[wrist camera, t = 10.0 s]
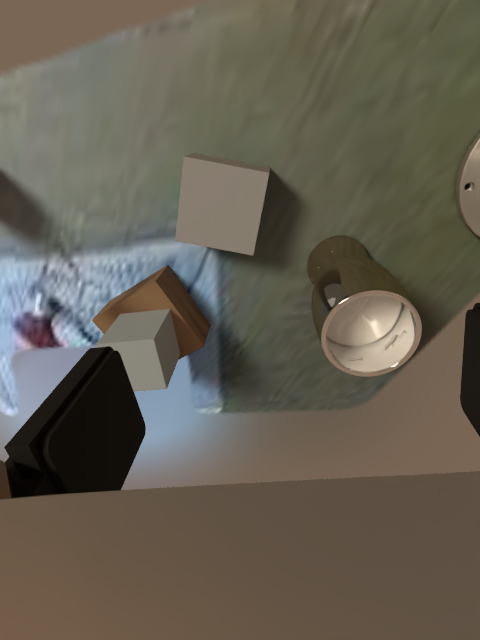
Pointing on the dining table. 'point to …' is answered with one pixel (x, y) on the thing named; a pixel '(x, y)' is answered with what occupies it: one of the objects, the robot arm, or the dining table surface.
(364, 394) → the dining table surface
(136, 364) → the painted block
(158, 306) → the walnut block
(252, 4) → the dining table surface
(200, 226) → the grey block
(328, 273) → the beer glass
